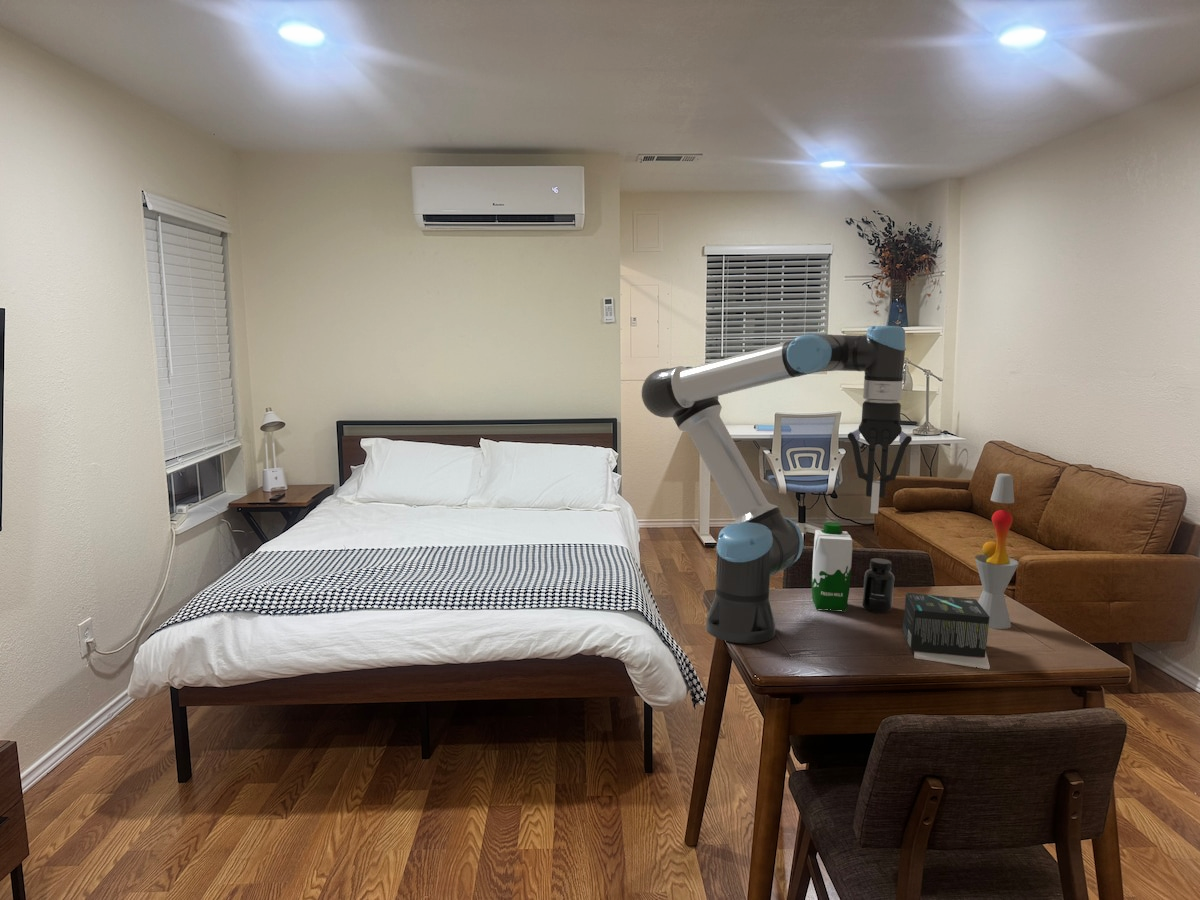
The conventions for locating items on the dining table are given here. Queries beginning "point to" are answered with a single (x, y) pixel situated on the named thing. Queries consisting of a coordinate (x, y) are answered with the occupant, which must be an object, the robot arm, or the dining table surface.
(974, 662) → the mat
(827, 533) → the milk carton
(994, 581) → the lava lamp
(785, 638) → the dining table surface
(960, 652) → the tampon box
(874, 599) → the supplement bottle
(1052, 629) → the dining table surface
